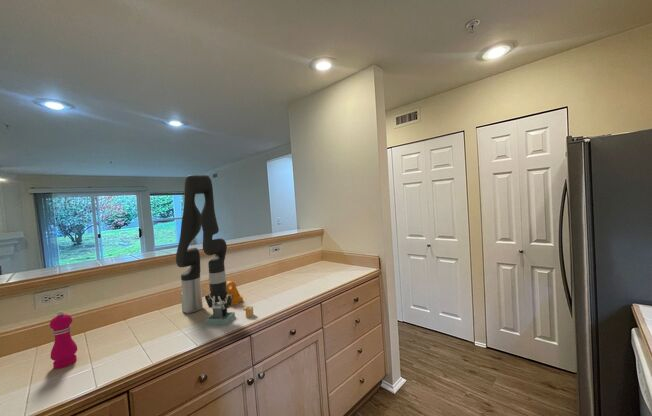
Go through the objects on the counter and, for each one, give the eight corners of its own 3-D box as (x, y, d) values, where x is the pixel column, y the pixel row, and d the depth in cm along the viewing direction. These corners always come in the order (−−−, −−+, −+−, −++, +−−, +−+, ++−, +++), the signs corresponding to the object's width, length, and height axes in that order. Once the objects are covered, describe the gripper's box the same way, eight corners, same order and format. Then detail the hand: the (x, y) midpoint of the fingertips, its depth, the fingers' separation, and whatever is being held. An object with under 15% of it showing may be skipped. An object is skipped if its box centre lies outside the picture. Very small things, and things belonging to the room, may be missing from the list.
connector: (214, 318, 127) (213, 306, 127) (219, 315, 131) (218, 302, 131) (221, 318, 127) (220, 306, 126) (226, 315, 130) (225, 303, 130)
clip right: (253, 314, 134) (252, 306, 134) (250, 317, 131) (250, 309, 131) (246, 314, 135) (246, 306, 134) (243, 317, 132) (243, 309, 131)
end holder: (206, 324, 126) (205, 319, 126) (216, 316, 134) (215, 311, 134) (225, 325, 124) (225, 319, 124) (235, 317, 132) (234, 312, 132)
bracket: (224, 307, 146) (222, 285, 145) (220, 304, 151) (218, 283, 151) (243, 301, 152) (242, 280, 152) (238, 298, 158) (237, 278, 158)
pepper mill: (83, 357, 104) (78, 306, 104) (66, 368, 97) (60, 314, 96) (64, 358, 104) (59, 307, 103) (45, 370, 97) (40, 316, 96)
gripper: (199, 283, 126) (202, 319, 127) (226, 283, 123) (229, 319, 124) (209, 278, 133) (211, 312, 134) (235, 278, 131) (238, 312, 131)
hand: (220, 315), depth 129 cm, fingers closed on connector, 4 cm apart
